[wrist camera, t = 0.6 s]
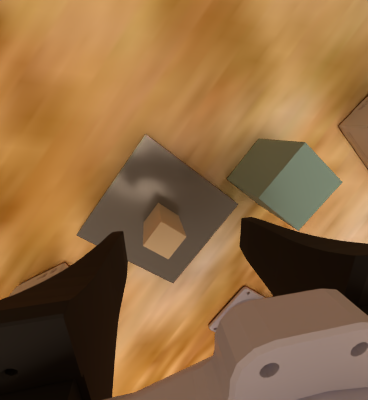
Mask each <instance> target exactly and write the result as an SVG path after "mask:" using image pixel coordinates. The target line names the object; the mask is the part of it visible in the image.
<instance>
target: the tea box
mask: <svg viewBox="0 0 368 400" xmlns="http://www.w3.org/2000/svg"><path fill="white" fill-rule="evenodd" d="M339 128H340V129H341V131H342V132H343V134H344V135H345V137H346V138H347V140H348V141H349V143H350V144H351V146H352V147H353V148H354V150H355V151H356V153H357V154H358V156H359V157H360V159H361V160H362V161H363V163H364V164H365V166H366V167H367V169H368V97H367V98H366V99H365V100H363V101H362V102H361V103H360V104H359V105H358V106H357V107H356V108H355V109H354V110H353V112H352V113H351V114H350V115H349V116H348V117H347V118H346V119H345V120H344V121H343V122H342V123H341V124H340V125H339Z"/></svg>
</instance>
